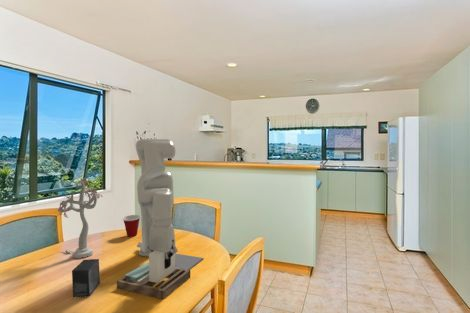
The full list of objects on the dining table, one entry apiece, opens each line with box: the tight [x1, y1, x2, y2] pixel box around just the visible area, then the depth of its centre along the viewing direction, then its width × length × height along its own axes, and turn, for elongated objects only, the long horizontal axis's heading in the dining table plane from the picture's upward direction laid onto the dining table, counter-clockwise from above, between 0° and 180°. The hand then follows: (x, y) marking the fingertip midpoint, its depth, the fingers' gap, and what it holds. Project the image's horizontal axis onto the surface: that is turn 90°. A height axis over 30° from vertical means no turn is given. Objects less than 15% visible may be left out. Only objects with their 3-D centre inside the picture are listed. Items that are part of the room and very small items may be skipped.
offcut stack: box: [124, 261, 149, 284], centre depth 121 cm, size 7×14×4 cm, turn 158°
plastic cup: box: [121, 214, 141, 238], centre depth 181 cm, size 11×11×12 cm
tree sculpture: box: [57, 177, 103, 259], centre depth 149 cm, size 28×24×40 cm
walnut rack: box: [116, 267, 191, 300], centre depth 119 cm, size 22×19×3 cm
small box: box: [71, 258, 101, 298], centre depth 112 cm, size 11×6×10 cm, turn 5°
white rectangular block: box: [148, 249, 176, 284], centre depth 117 cm, size 4×12×11 cm, turn 158°
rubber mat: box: [175, 253, 204, 271], centre depth 138 cm, size 16×16×1 cm
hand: (162, 265), depth 117 cm, fingers closed on white rectangular block, 4 cm apart
